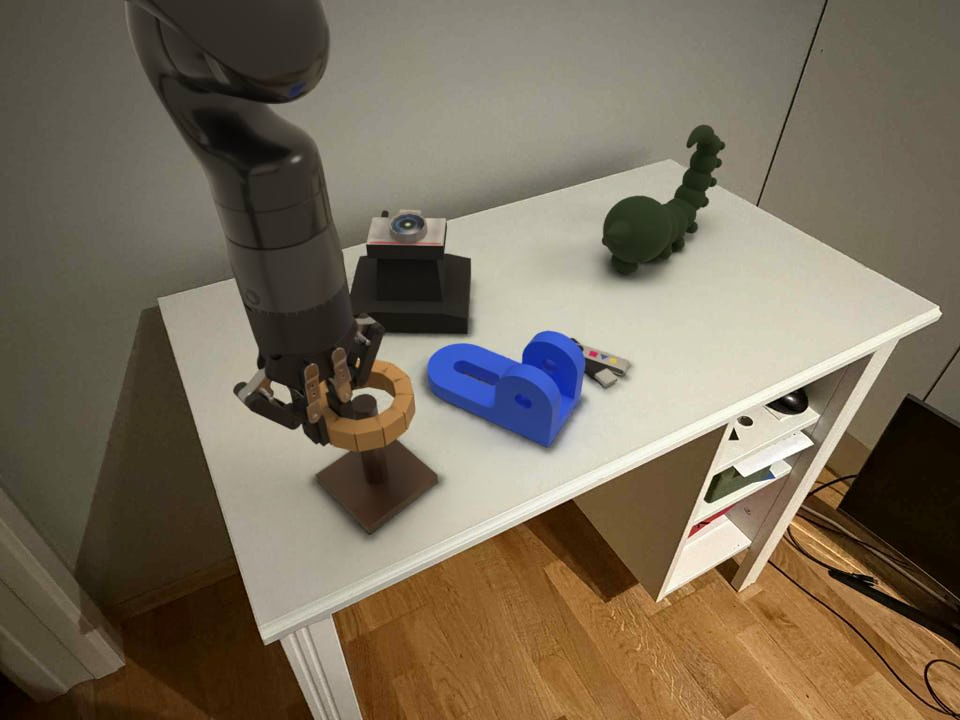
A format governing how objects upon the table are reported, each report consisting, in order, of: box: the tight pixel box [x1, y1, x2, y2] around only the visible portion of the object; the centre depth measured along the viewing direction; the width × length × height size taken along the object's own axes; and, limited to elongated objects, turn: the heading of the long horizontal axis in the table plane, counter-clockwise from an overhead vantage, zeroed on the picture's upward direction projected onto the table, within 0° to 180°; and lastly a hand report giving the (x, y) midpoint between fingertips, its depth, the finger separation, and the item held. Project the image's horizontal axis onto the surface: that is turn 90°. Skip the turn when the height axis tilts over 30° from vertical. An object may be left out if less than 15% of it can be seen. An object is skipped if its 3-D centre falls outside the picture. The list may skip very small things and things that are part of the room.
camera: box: [349, 209, 472, 335], centre depth 84 cm, size 16×14×15 cm
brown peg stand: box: [315, 393, 439, 535], centre depth 63 cm, size 9×9×12 cm
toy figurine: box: [601, 124, 726, 275], centre depth 92 cm, size 9×19×25 cm
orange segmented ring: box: [319, 359, 416, 452], centre depth 59 cm, size 9×9×2 cm
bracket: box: [427, 330, 586, 448], centre depth 73 cm, size 18×8×9 cm, turn 59°
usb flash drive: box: [569, 337, 630, 388], centre depth 80 cm, size 9×5×1 cm, turn 33°
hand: (331, 432), depth 57 cm, fingers closed on orange segmented ring, 1 cm apart
